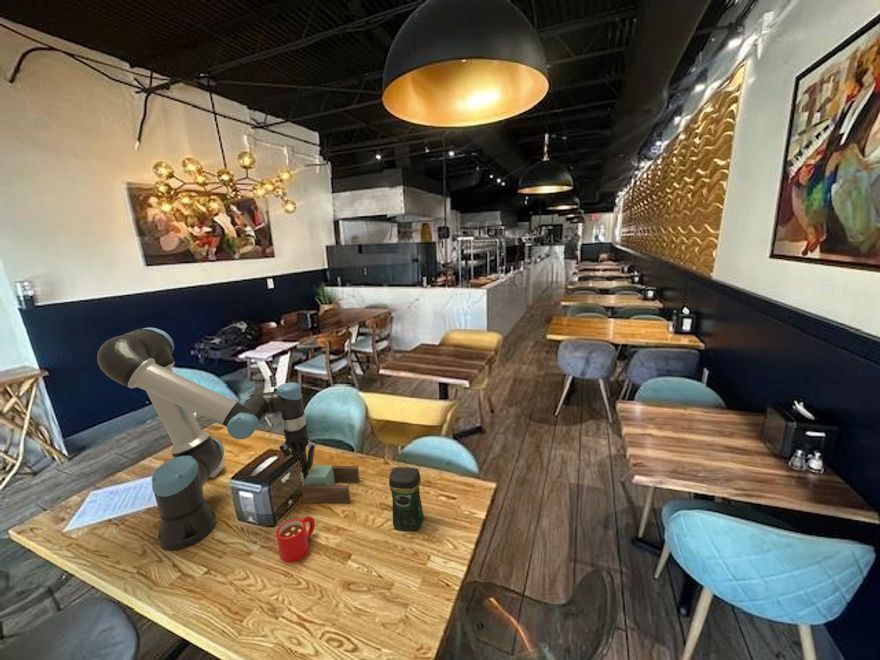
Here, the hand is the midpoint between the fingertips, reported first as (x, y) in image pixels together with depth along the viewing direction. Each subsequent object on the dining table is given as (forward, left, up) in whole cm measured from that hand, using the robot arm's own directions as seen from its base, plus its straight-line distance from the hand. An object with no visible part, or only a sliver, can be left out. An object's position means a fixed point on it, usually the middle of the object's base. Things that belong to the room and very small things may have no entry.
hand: (304, 485), depth 134 cm
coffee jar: (-15, -41, -2) cm, 43 cm away
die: (+10, +42, -2) cm, 44 cm away
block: (0, -7, -2) cm, 7 cm away
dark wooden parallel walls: (0, -11, -2) cm, 11 cm away
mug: (-25, -10, -2) cm, 27 cm away
